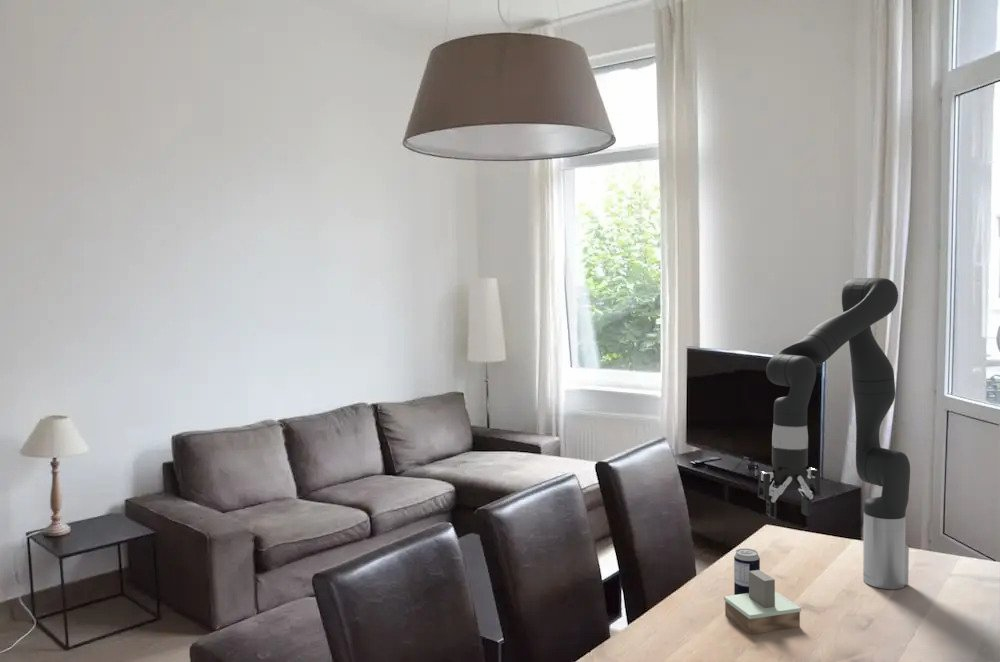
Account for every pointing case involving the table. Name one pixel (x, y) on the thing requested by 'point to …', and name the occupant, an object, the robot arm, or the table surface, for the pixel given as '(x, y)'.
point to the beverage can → (744, 569)
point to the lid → (761, 598)
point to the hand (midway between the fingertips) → (788, 516)
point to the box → (762, 621)
